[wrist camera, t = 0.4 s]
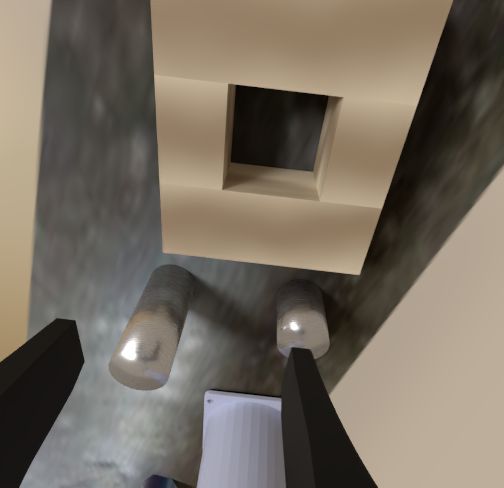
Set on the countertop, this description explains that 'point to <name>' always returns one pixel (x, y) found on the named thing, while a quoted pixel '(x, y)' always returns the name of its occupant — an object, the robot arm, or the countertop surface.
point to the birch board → (291, 79)
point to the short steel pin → (301, 318)
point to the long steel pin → (154, 330)
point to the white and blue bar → (158, 482)
